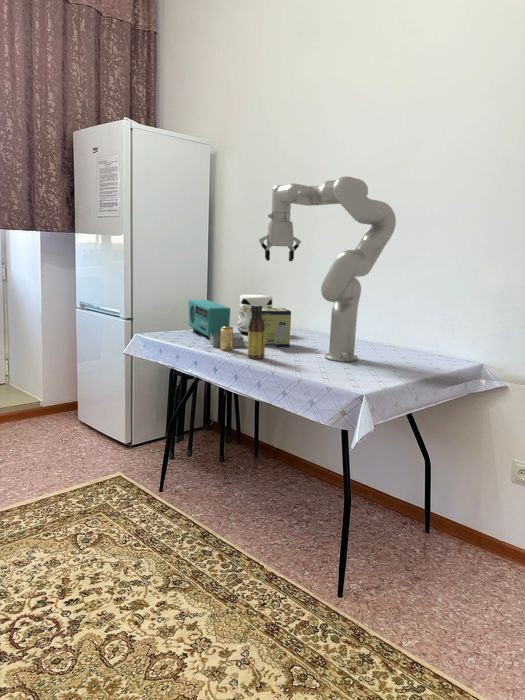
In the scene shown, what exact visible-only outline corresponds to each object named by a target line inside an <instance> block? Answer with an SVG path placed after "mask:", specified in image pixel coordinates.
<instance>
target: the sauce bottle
mask: <svg viewBox="0 0 525 700" xmlns="http://www.w3.org/2000/svg"><path fill="white" fill-rule="evenodd" d="M251 309H252V315H251V320H250V323H249V326H248V334H247V357H248V358H249V359H251V358H252V360H262V359H264V358H265V353H266V352H265V350H266V349H265V348H266V345H265V324H264V321H263V319H262V305H251Z"/></svg>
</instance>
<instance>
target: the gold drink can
mask: <svg viewBox="0 0 525 700" xmlns="http://www.w3.org/2000/svg"><path fill="white" fill-rule="evenodd" d="M233 333H234V328H233V326H230V325H229V326H222V327H221V337H220V348H219V350H220V351H221V352H233V350H234V349H233Z"/></svg>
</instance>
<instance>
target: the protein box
mask: <svg viewBox="0 0 525 700" xmlns="http://www.w3.org/2000/svg"><path fill="white" fill-rule="evenodd" d="M251 315H252V309H251V308H250V320H251ZM262 319H263V321H264V324H265V346H274V347H276V348H277V347H285V348H290V344H291V326H292V325H291V324H292V322H291V321H292V311H291V310H289V309H287V308H285V307H272V308H262Z"/></svg>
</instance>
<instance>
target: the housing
mask: <svg viewBox="0 0 525 700" xmlns="http://www.w3.org/2000/svg"><path fill="white" fill-rule="evenodd" d="M220 337H221V333H210V339H209V343H210V344H211V346H212V348H214V349H215V348H219V349H220ZM233 348H240V349H241V348H244V336H243V335H241V334H240V332H233Z"/></svg>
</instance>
